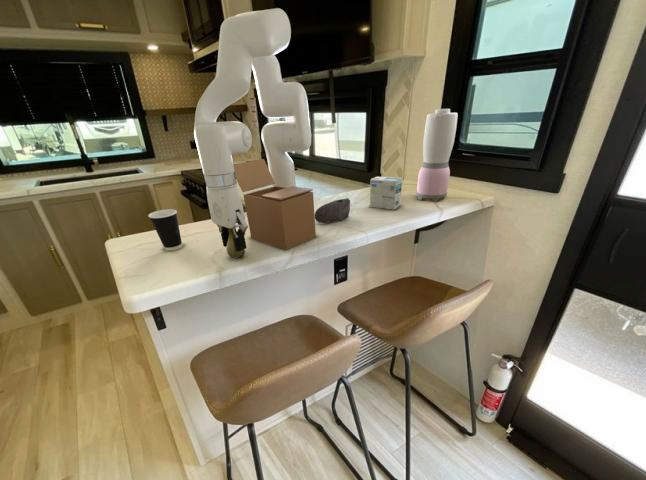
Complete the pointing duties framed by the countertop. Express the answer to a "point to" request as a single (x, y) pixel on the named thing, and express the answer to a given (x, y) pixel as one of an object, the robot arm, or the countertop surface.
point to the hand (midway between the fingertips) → (234, 246)
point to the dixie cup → (167, 228)
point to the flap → (253, 175)
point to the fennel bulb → (233, 246)
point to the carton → (281, 215)
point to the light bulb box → (385, 192)
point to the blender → (436, 154)
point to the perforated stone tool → (333, 211)
